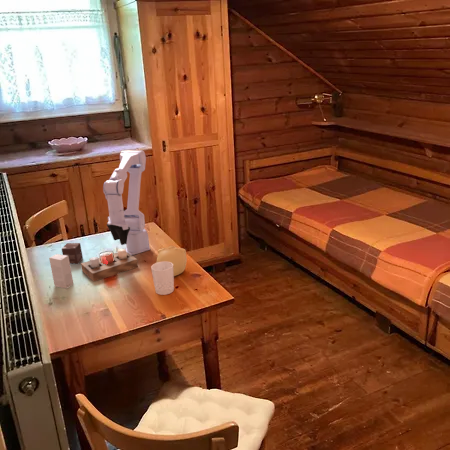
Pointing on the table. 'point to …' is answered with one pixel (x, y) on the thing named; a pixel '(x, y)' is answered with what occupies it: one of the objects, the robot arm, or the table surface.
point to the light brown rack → (109, 267)
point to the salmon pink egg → (109, 258)
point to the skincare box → (61, 271)
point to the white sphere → (94, 262)
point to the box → (73, 252)
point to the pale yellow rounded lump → (173, 258)
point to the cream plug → (122, 254)
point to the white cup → (163, 277)
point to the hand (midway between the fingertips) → (120, 241)
